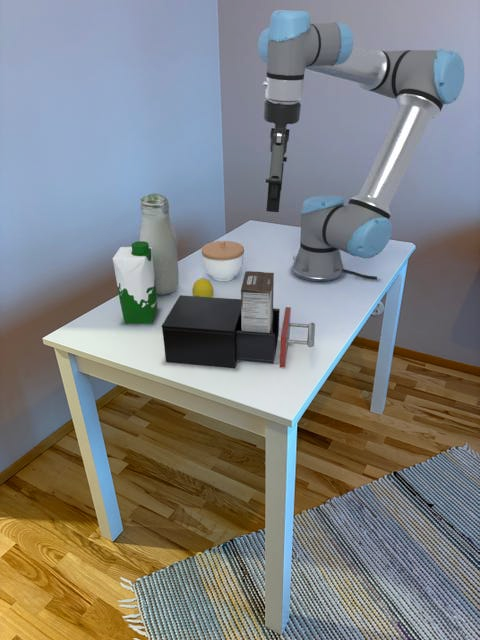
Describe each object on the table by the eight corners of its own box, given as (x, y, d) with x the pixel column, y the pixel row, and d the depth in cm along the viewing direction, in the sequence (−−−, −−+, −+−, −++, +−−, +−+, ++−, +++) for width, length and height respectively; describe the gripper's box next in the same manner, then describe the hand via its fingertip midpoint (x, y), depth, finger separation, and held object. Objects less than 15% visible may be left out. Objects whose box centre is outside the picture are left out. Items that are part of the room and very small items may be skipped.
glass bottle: (144, 301, 128) (131, 200, 114) (147, 285, 137) (135, 189, 123) (180, 299, 129) (171, 199, 115) (181, 283, 138) (173, 188, 123)
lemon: (211, 310, 123) (209, 283, 119) (191, 308, 124) (189, 281, 120) (216, 300, 128) (215, 274, 124) (196, 299, 129) (195, 272, 125)
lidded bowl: (214, 265, 149) (213, 232, 143) (250, 271, 144) (250, 238, 138) (195, 280, 139) (192, 246, 133) (233, 288, 134) (232, 252, 129)
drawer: (313, 337, 109) (316, 308, 105) (312, 370, 98) (314, 339, 94) (229, 331, 112) (228, 303, 108) (218, 362, 101) (217, 331, 97)
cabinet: (245, 334, 113) (244, 299, 108) (235, 368, 101) (234, 331, 96) (183, 329, 115) (179, 295, 110) (165, 362, 103) (161, 325, 98)
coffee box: (245, 332, 110) (245, 270, 101) (273, 334, 109) (274, 271, 101) (240, 354, 102) (239, 288, 94) (270, 356, 101) (271, 290, 93)
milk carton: (155, 325, 117) (145, 251, 107) (119, 325, 117) (107, 251, 107) (161, 308, 124) (153, 237, 114) (127, 308, 125) (116, 237, 115)
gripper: (268, 88, 106) (262, 180, 118) (260, 112, 85) (253, 220, 98) (301, 90, 105) (291, 182, 118) (300, 115, 85) (288, 223, 97)
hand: (274, 200), depth 108 cm, fingers open, 13 cm apart
